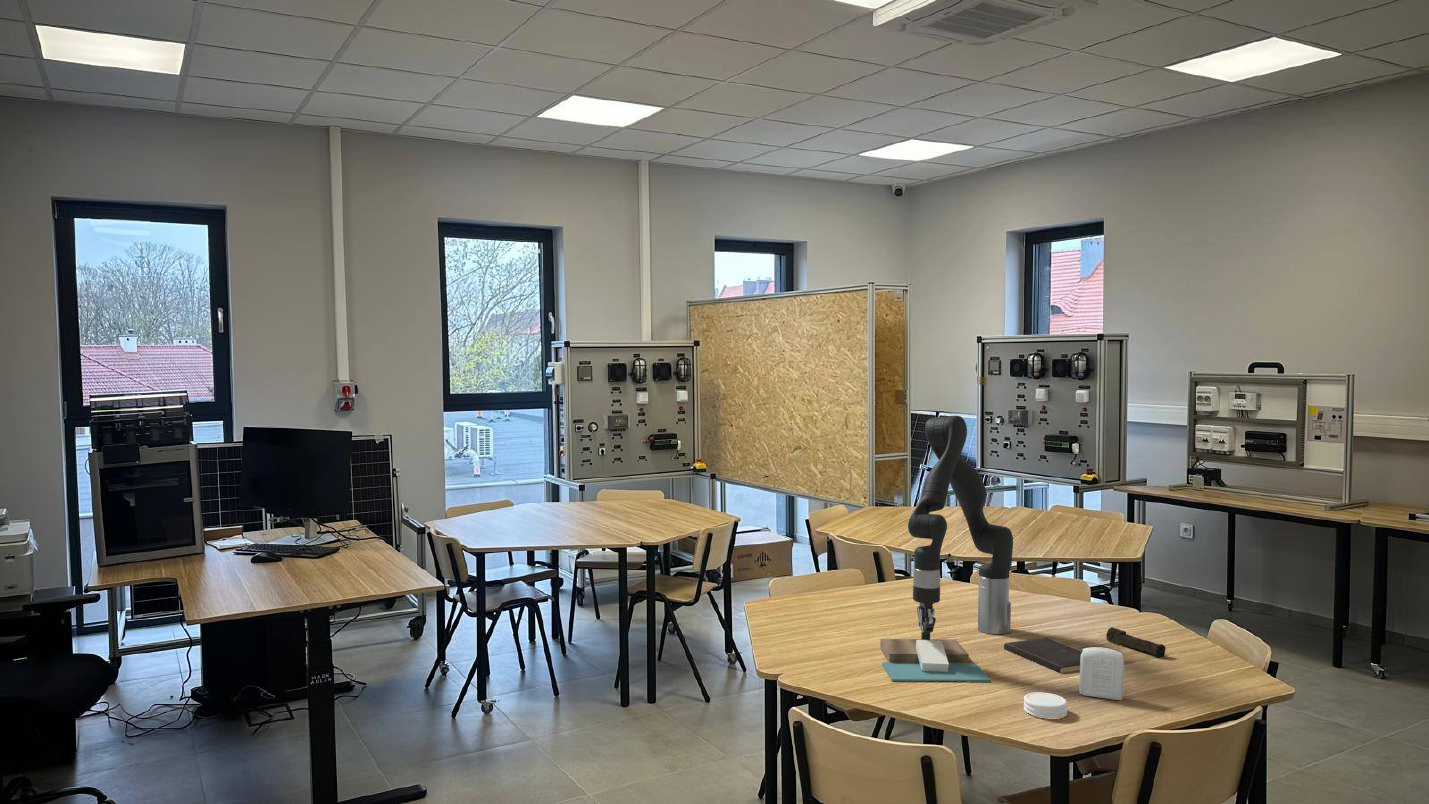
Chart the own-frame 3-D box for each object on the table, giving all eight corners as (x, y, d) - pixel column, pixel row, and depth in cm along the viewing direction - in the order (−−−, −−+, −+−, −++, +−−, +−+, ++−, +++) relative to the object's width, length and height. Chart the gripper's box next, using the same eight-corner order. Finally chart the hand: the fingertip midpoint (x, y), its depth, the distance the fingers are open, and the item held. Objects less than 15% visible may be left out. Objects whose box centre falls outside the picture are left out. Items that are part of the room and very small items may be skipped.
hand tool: (1166, 657, 268) (1167, 641, 268) (1156, 659, 266) (1157, 643, 266) (1113, 640, 285) (1113, 625, 285) (1103, 641, 284) (1104, 626, 283)
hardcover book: (1046, 645, 280) (1047, 637, 280) (1105, 668, 259) (1105, 660, 259) (1003, 650, 274) (1003, 643, 274) (1059, 675, 253) (1059, 667, 253)
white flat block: (940, 648, 262) (941, 640, 261) (947, 671, 252) (948, 664, 251) (915, 647, 262) (916, 639, 262) (921, 671, 252) (922, 663, 251)
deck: (955, 649, 274) (955, 639, 274) (968, 664, 260) (968, 654, 260) (880, 649, 274) (880, 638, 273) (889, 664, 260) (889, 653, 260)
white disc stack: (1066, 723, 218) (1067, 708, 218) (1022, 717, 222) (1022, 702, 222) (1067, 709, 227) (1068, 694, 227) (1024, 703, 231) (1025, 689, 231)
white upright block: (1122, 696, 236) (1124, 648, 235) (1123, 702, 232) (1124, 652, 231) (1079, 690, 240) (1080, 643, 239) (1079, 696, 236) (1080, 648, 235)
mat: (975, 665, 260) (975, 662, 260) (990, 682, 246) (990, 679, 246) (882, 664, 260) (882, 662, 260) (891, 681, 246) (891, 679, 246)
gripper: (945, 590, 256) (944, 652, 257) (934, 578, 269) (933, 638, 270) (918, 589, 256) (917, 652, 257) (908, 578, 269) (907, 638, 270)
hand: (925, 644), depth 263 cm, fingers closed
